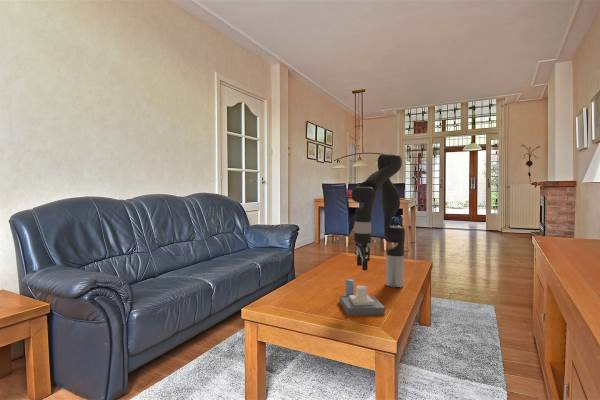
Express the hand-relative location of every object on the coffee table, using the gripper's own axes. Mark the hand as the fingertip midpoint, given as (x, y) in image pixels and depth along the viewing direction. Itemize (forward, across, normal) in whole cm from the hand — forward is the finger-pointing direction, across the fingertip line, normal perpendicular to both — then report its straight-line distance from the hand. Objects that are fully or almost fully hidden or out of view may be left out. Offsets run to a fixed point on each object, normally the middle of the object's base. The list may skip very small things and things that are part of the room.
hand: (361, 267), depth 147 cm
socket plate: (+18, 0, 0) cm, 18 cm away
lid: (+15, 0, 0) cm, 15 cm away
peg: (+18, +13, +2) cm, 23 cm away
